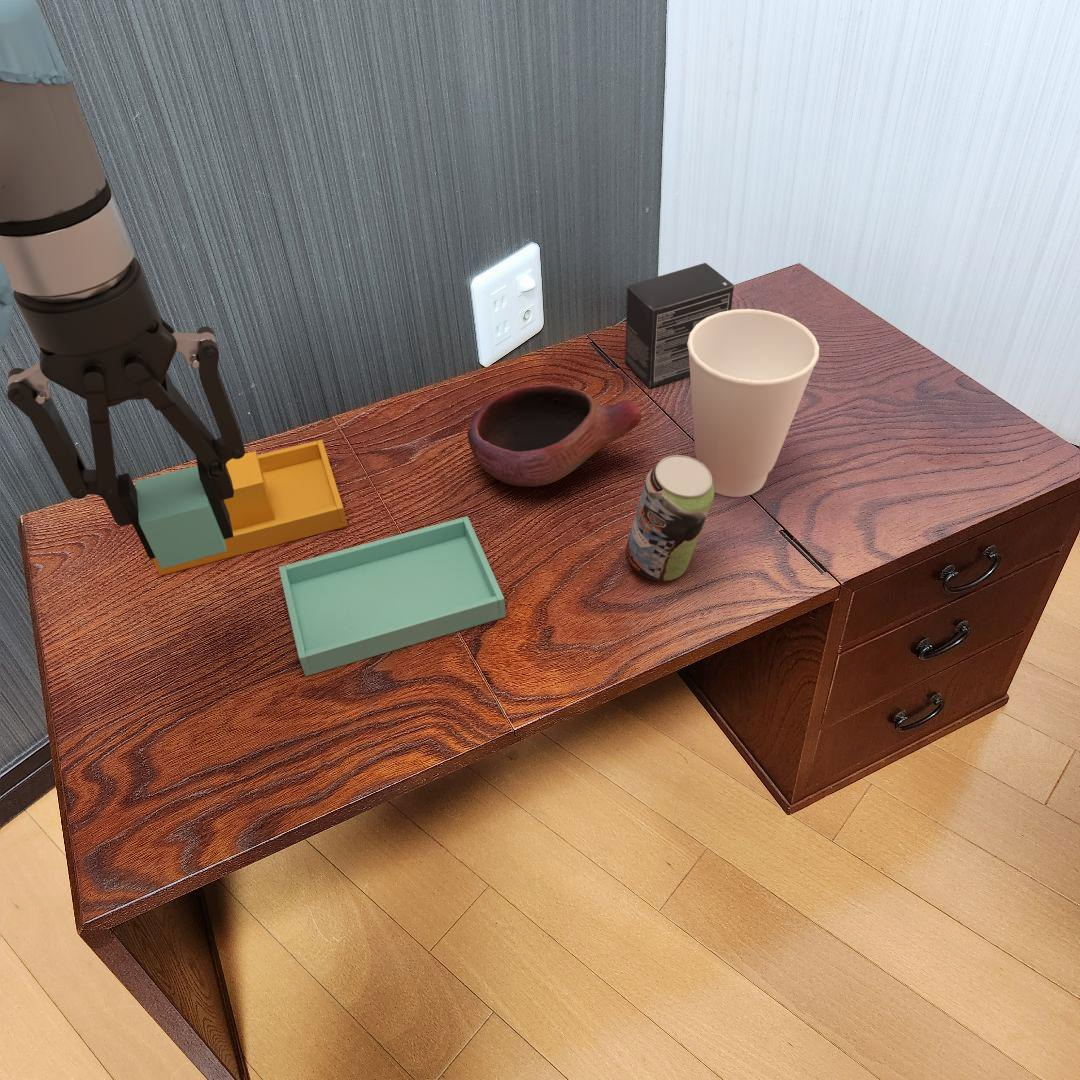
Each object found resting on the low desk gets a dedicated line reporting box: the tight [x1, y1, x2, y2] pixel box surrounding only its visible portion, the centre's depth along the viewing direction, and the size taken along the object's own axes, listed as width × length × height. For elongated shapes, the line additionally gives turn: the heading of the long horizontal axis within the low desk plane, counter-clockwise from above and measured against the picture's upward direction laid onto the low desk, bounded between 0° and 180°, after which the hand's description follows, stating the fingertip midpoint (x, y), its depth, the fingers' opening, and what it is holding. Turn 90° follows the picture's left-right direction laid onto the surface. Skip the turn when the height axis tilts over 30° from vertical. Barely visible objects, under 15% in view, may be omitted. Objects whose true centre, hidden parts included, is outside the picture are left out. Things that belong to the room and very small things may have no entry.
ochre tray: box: [151, 439, 349, 576], centre depth 93 cm, size 18×11×3 cm, turn 110°
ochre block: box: [224, 450, 275, 530], centre depth 92 cm, size 5×5×5 cm
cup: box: [687, 308, 820, 498], centre depth 90 cm, size 12×12×16 cm
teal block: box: [134, 465, 227, 569], centre depth 72 cm, size 5×5×5 cm
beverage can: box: [625, 454, 715, 582], centre depth 83 cm, size 6×7×12 cm
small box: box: [624, 262, 735, 389], centre depth 106 cm, size 11×6×10 cm, turn 115°
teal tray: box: [278, 516, 507, 677], centre depth 85 cm, size 18×11×3 cm, turn 110°
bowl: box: [466, 383, 642, 487], centre depth 96 cm, size 16×13×8 cm
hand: (190, 536), depth 74 cm, fingers closed on teal block, 5 cm apart
